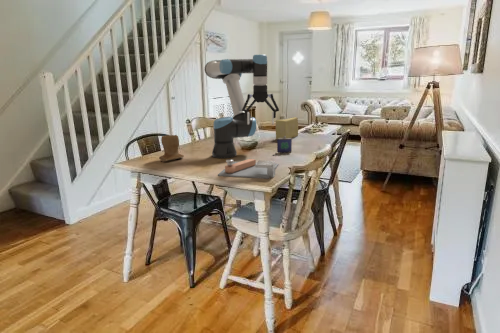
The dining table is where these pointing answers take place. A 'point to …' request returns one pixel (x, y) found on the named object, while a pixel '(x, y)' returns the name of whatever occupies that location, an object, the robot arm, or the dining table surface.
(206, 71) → the robot arm
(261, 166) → the block
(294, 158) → the dining table surface
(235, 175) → the base board
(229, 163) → the silver metal knob
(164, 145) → the brown boot
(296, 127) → the cheese
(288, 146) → the dark blue box
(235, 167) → the link
